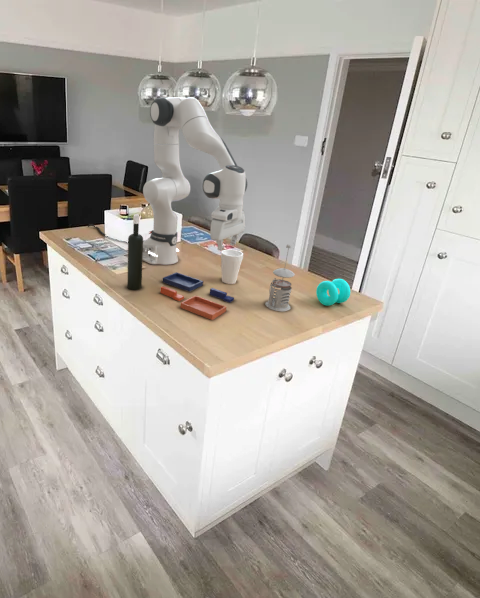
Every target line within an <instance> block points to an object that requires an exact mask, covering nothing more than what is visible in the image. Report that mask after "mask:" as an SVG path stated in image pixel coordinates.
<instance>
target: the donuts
mask: <svg viewBox="0 0 480 598" xmlns="http://www.w3.org/2000/svg"><path fill="white" fill-rule="evenodd" d="M315 293H316V298H317V301H318V302H319V303H320V304H321V305H323V306H327V307H330V306H333V305H335V304H336V303H337V304H344V303H346V302H347V301H348V300H349V298H350V297H351V287H350V284H349V282H347V281H346V280H345V279H343V278H335V279H333V280H332V281H330V280H322V281H320V283H319V284H318V285H317V286H316V290H315Z"/></svg>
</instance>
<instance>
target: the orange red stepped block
mask: <svg viewBox="0 0 480 598" xmlns="http://www.w3.org/2000/svg"><path fill="white" fill-rule="evenodd" d="M160 294H162V295H164V296H167V297H170V298H172V299H173V300H175V301H178V302H181V301H182V300H184V299H185V295H182V294H180V293H178V291H177V290H176V289H172V288H169V287H167V286H165V285H163V286H160Z"/></svg>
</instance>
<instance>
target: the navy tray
mask: <svg viewBox="0 0 480 598" xmlns="http://www.w3.org/2000/svg"><path fill="white" fill-rule="evenodd" d="M162 283H164V284H166V285H169V286H172V287H175V288H177V289H181V290H183V291H186V292H192V291H195V290H196V289H199V288H200V287H202V286H203V285H204V280H201V279H198V278H195V277H192V276H189V275H187V274H183V273H180V272H172V274H169V275H166V276H164V277H162Z"/></svg>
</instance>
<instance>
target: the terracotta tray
mask: <svg viewBox="0 0 480 598" xmlns="http://www.w3.org/2000/svg"><path fill="white" fill-rule="evenodd" d="M179 308H180V309H183V310H185V311H187V312H191V313H193V314H196V315H197V316H201V317H203V318H206V319H209V320H211V321H214V320H215V319H216V318H218V317H219V316H221V315H223V314H224V313H226V312H227V308H228V307H227V306H226V305H223V304H221V303H218V302H215V301H212V300H210V299H207V298H203V297H201V296H198V295H193V296H190V297H189V298H188V299H185V300H183V301H180V306H179Z"/></svg>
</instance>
